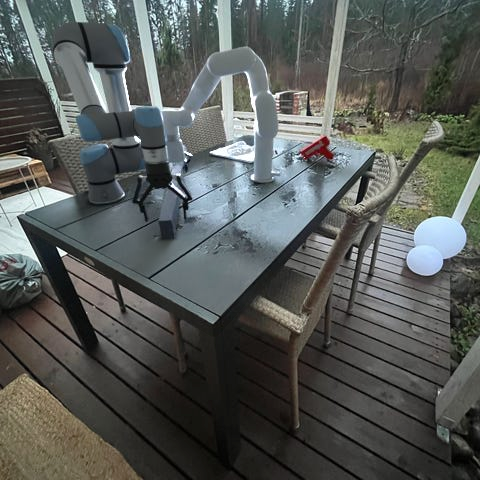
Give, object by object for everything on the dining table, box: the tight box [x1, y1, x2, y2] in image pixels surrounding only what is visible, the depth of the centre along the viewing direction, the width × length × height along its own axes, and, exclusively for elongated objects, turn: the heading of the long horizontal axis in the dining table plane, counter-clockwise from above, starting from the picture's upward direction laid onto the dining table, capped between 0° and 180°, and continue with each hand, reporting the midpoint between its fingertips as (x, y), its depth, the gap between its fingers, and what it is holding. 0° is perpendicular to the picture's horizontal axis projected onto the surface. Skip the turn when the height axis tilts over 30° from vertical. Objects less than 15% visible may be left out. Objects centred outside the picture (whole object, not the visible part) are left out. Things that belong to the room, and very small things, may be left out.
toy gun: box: [299, 134, 335, 162], centre depth 173 cm, size 18×4×15 cm
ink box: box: [171, 145, 189, 168], centre depth 162 cm, size 8×5×12 cm, turn 135°
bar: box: [158, 166, 184, 240], centre depth 120 cm, size 61×4×7 cm, turn 7°
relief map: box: [209, 140, 274, 164], centre depth 187 cm, size 27×35×5 cm
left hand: (166, 219), depth 98 cm, fingers open, 13 cm apart
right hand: (176, 172), depth 140 cm, fingers open, 9 cm apart
